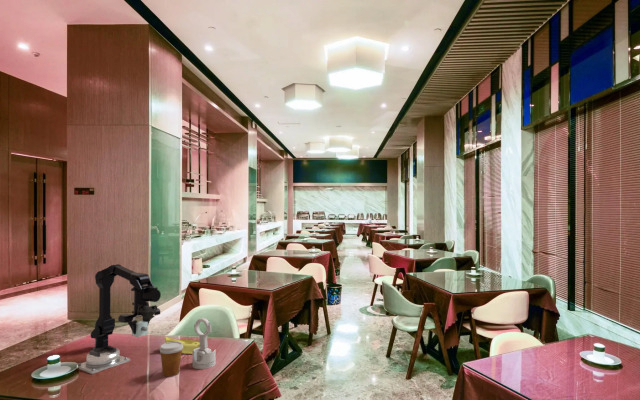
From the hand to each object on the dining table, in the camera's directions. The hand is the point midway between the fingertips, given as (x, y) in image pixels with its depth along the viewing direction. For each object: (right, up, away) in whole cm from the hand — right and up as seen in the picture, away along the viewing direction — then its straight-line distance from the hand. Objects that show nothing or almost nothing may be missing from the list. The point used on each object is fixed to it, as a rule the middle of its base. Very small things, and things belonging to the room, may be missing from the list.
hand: (139, 332), depth 178 cm
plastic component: (+20, -12, +7) cm, 24 cm away
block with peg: (0, -1, 0) cm, 1 cm away
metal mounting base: (-11, -10, -11) cm, 19 cm away
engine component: (+35, -10, -12) cm, 38 cm away
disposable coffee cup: (+24, -10, -22) cm, 34 cm away
